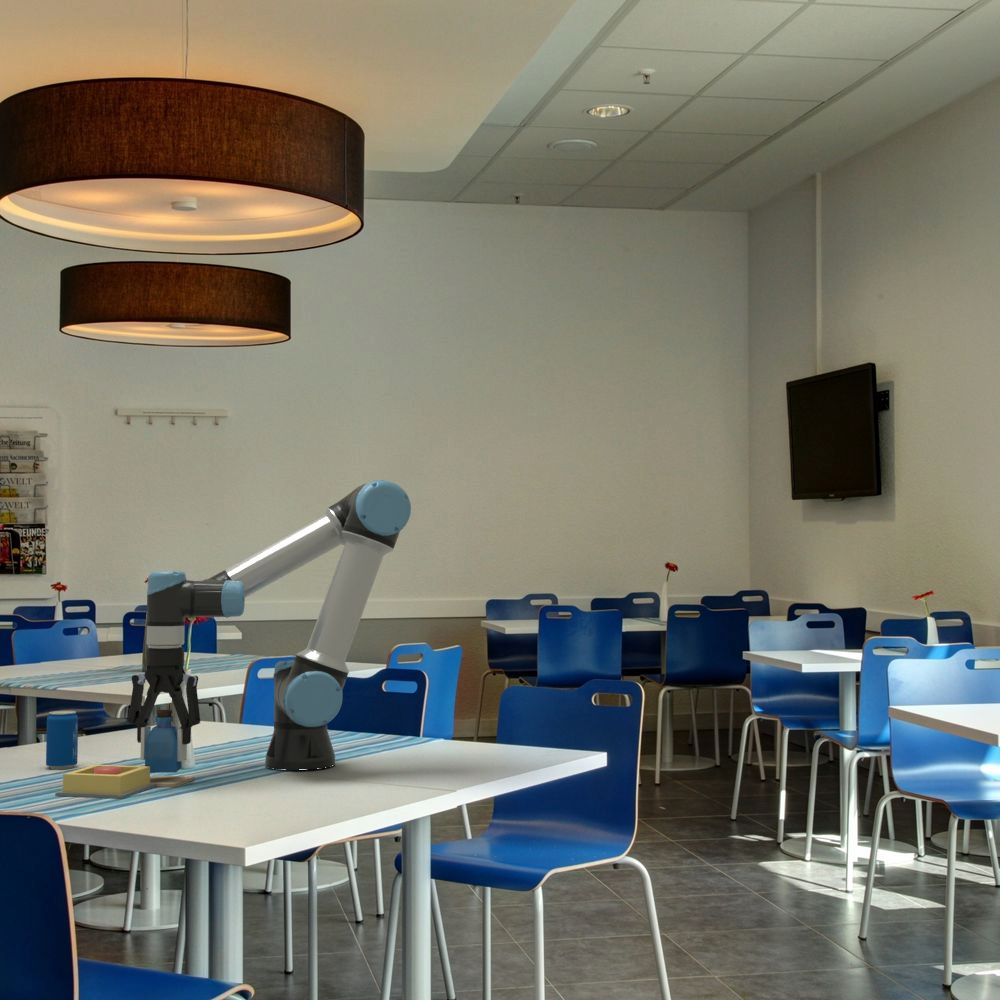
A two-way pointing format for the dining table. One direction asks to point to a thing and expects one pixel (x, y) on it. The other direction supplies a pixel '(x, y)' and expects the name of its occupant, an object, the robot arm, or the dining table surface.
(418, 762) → the dining table surface
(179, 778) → the coaster
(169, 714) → the perfume bottle
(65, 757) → the beverage can
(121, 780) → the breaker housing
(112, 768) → the red short rounded piece
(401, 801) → the dining table surface
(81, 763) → the dining table surface
